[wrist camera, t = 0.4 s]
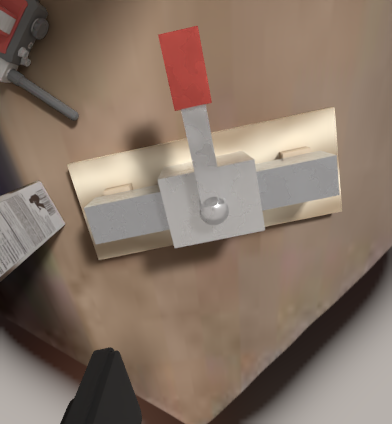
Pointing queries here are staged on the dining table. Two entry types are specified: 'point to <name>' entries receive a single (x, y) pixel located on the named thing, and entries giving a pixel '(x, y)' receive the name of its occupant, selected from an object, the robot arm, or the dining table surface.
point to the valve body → (232, 192)
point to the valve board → (223, 144)
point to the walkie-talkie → (24, 46)
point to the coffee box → (25, 224)
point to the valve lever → (195, 115)
